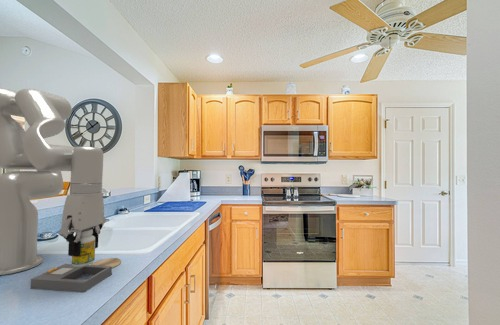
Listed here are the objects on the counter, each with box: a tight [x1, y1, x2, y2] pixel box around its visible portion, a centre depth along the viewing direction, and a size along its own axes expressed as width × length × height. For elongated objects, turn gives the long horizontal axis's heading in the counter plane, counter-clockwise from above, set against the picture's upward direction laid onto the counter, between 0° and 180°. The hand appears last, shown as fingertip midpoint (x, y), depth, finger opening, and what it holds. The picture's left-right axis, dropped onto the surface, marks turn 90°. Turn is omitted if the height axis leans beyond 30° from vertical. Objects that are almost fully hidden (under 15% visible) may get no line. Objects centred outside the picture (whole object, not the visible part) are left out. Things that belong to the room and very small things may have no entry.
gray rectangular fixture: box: [30, 263, 113, 293], centre depth 65 cm, size 16×10×3 cm, turn 83°
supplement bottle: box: [71, 228, 96, 267], centre depth 65 cm, size 5×5×10 cm
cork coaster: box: [90, 257, 122, 269], centre depth 75 cm, size 9×9×1 cm
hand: (83, 251), depth 65 cm, fingers closed on supplement bottle, 5 cm apart
